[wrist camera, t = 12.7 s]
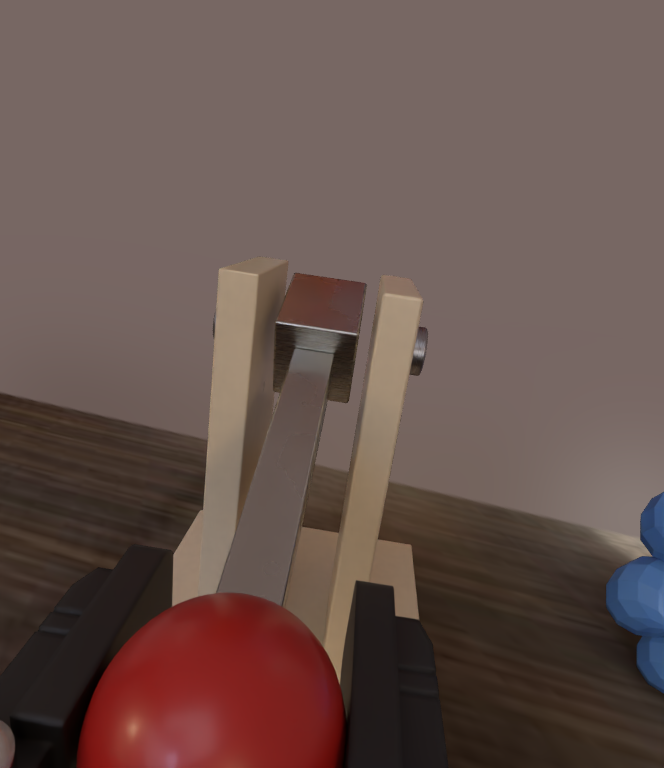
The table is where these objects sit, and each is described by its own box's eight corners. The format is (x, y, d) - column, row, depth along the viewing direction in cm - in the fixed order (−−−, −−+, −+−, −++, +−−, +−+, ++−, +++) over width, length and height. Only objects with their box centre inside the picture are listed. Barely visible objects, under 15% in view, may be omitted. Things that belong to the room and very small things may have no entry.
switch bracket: (431, 884, 13) (595, 354, 8) (44, 810, 13) (11, 266, 9) (405, 571, 24) (469, 277, 20) (198, 536, 25) (217, 240, 20)
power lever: (316, 951, 7) (346, 930, 5) (58, 900, 7) (-39, 853, 5) (375, 365, 17) (394, 267, 15) (269, 349, 17) (271, 249, 15)
